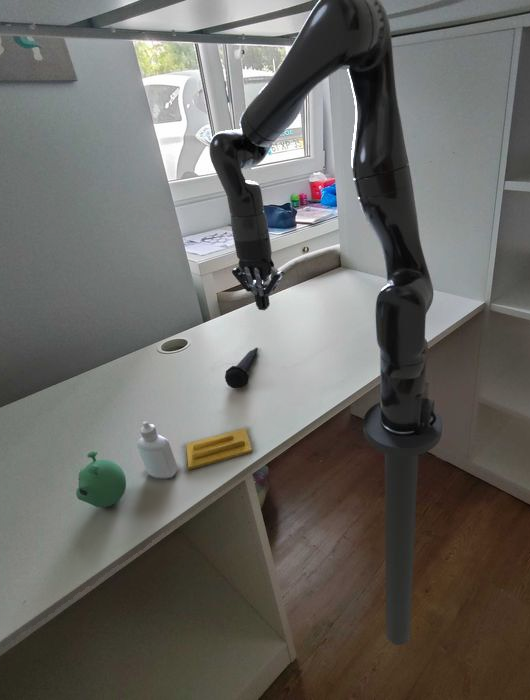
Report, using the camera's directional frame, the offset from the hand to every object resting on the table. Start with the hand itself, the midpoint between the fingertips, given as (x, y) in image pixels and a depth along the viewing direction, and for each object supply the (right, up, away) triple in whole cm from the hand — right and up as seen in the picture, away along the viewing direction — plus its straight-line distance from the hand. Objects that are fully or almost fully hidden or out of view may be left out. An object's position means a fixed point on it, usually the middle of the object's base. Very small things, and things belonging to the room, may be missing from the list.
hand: (263, 308), depth 103 cm
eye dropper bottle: (-16, -33, -20) cm, 41 cm away
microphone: (-5, -15, +9) cm, 18 cm away
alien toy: (-23, -36, -25) cm, 50 cm away
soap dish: (-6, -29, -15) cm, 33 cm away
